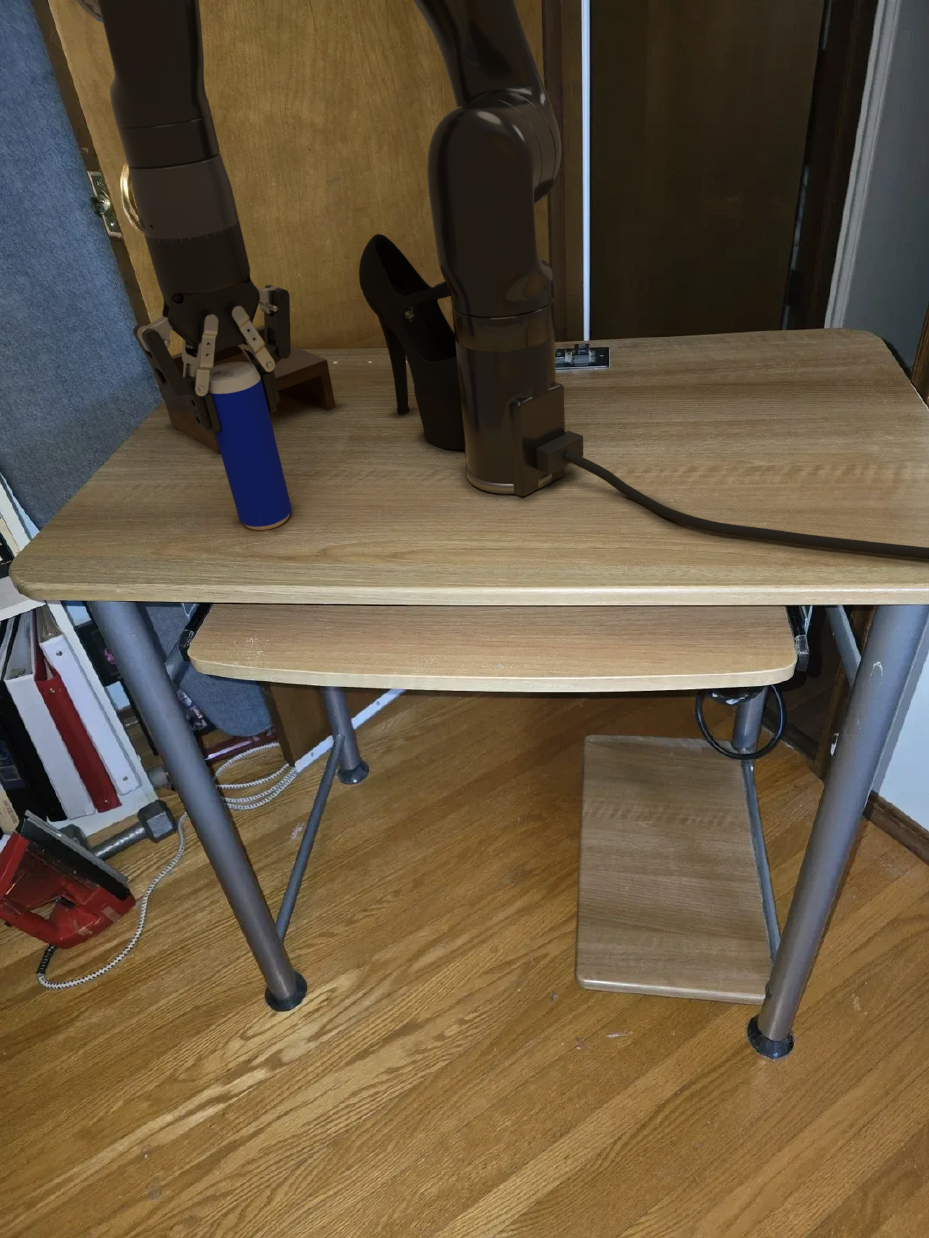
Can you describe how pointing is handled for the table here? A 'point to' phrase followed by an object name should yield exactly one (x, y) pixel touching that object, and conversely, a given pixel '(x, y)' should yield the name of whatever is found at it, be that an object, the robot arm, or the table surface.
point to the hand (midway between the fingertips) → (241, 419)
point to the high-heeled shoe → (415, 339)
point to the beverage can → (249, 446)
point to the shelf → (292, 375)
